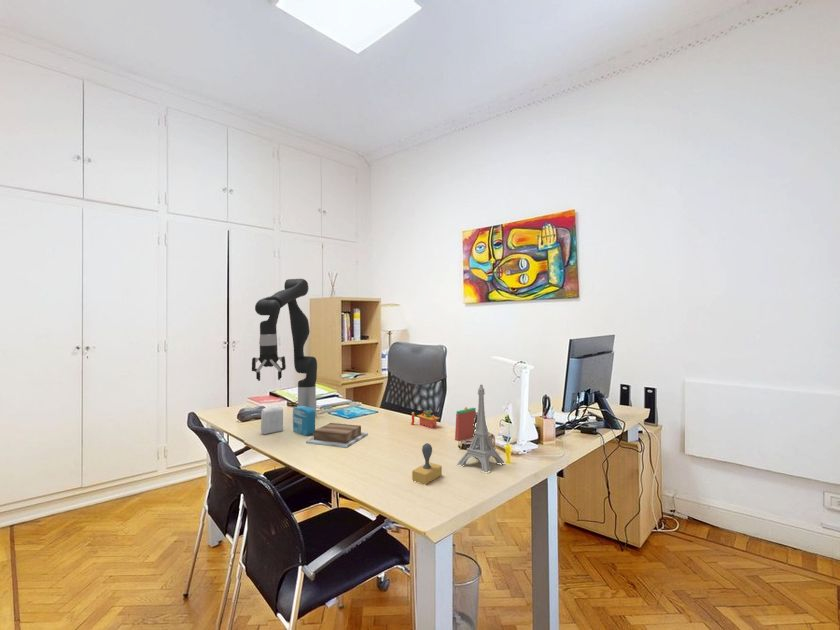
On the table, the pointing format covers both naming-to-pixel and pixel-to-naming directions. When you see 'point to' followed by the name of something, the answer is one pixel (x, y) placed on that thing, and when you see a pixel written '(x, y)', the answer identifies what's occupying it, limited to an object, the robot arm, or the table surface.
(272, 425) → the photo printer
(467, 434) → the toy building block set
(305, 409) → the data package
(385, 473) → the table surface
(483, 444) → the eiffel tower
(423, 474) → the rubber stamp
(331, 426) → the base
